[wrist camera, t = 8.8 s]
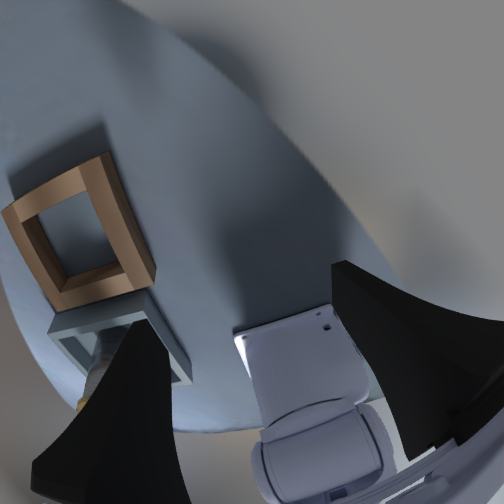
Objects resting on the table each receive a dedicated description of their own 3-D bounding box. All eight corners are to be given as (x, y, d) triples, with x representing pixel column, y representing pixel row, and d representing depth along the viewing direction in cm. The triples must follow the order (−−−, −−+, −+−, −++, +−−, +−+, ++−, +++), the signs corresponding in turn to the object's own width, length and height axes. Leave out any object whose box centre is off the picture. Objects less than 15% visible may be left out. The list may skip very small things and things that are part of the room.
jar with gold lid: (128, 317, 20) (114, 401, 13) (152, 352, 22) (148, 430, 15) (85, 327, 20) (64, 404, 13) (111, 360, 22) (100, 432, 15)
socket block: (109, 150, 14) (99, 156, 12) (156, 268, 19) (154, 284, 17) (14, 201, 14) (0, 211, 12) (65, 296, 18) (57, 311, 17)
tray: (146, 289, 20) (143, 310, 17) (191, 363, 25) (193, 383, 23) (55, 314, 19) (46, 334, 17) (109, 378, 24) (107, 396, 22)
